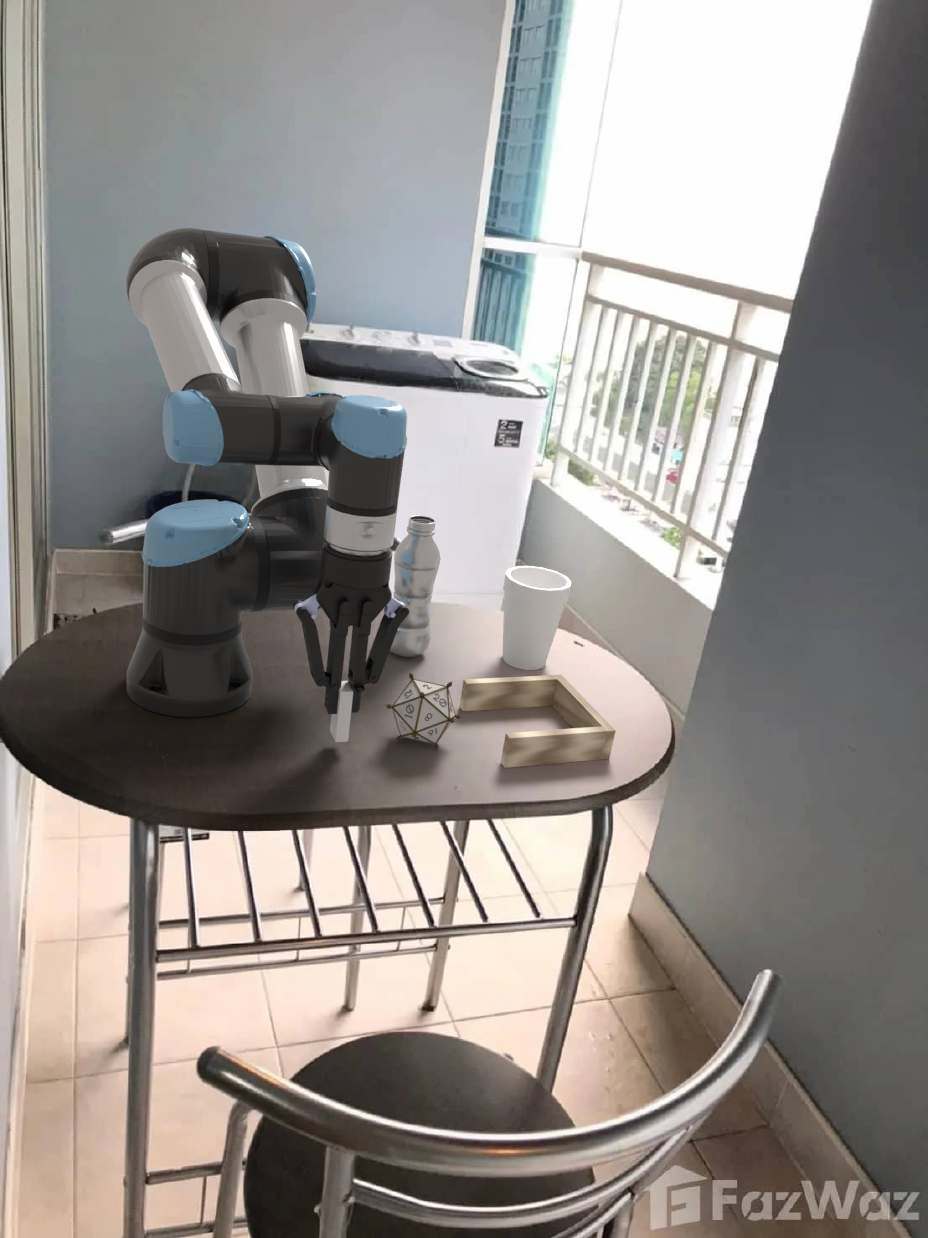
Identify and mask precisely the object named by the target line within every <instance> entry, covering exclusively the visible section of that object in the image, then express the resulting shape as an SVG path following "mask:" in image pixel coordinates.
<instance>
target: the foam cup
mask: <svg viewBox="0 0 928 1238" xmlns="http://www.w3.org/2000/svg"><path fill="white" fill-rule="evenodd" d="M572 583H573V582H572V581H571V579H570V578H569V577H568V576H566V575H565V574H563V573H560V572H559V571H557V570H554V569H549V568H546V567H540V566H533V565H517V566H513V567H509V568H507V570H506V571H505V575H504V581H503V587H502V590H503V591H504V592H503V593H504V594H503V595H504V596H503V623H502V625H503V626H502V631H503V632H502V660H503V661H504V662H505V663H506V664H507V665H509V666H510V667H514V668H516V669H519V670H525V671H526V670H527V671H534V670H540V669H543V668H544V667H545V665H546V663H547V660H548V657H549V653H550V651H551V647H552V645H553V642H554V638H555V636H556V632H557V630H558V627H559V623H560V621H561V617H562V616H563V615H562V614H563V612H564V608H565V606H566V604H567V603H568V601H569V597H570V593H571V587H572Z"/></svg>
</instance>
